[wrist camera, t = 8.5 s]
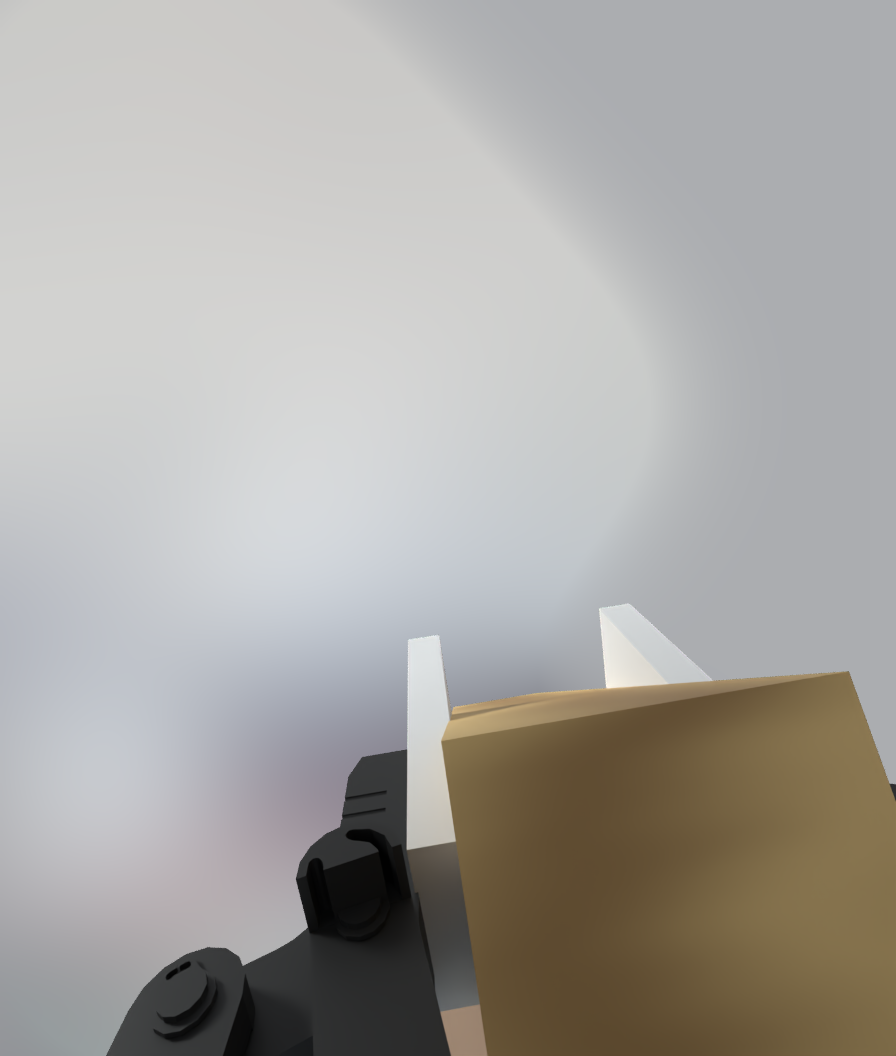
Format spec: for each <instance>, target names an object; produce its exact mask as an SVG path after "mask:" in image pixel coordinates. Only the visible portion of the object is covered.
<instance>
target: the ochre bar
mask: <svg viewBox="0 0 896 1056" xmlns="http://www.w3.org/2000/svg"><path fill="white" fill-rule="evenodd" d="M441 744H442V751H443V758H444V765H445V771H446V778H447V785H448V792H449V799H450V805H451V812H452V819H453V826H454V833H455V839H456V846H457V853H458V860H459V867H460V873H461V880H462V887H463V894H464V900H465V907H466V914H467V921H468V928H469V934H470V941H471V948H472V955H473V962H474V968H475V975H476V982H477V989H478V996H479V1002H480V1009H481V1016H482V1023H483V1030H484V1036H485V1043H486V1050H487V1056H896V801H895V798H894V795H893V792H892V789H891V787H890V784H889V781H888V778H887V776H886V773H885V770H884V767H883V765H882V762H881V759H880V756H879V754H878V751H877V748H876V746H875V743H874V740H873V737H872V734H871V731H870V729H869V726H868V723H867V720H866V718H865V715H864V712H863V709H862V707H861V704H860V701H859V699H858V695H857V693H856V690H855V687H854V685H853V682H852V679H851V676H850V673H849V671H847V672H833V673H819V674H804V675H790V676H775V677H761V678H747V679H732V680H718V681H704V682H689V683H675V684H663V685H648V686H634V687H619V688H603V689H589V690H575V691H562V692H561V691H560V692H546V693H535V694H529V695H523V696H518V697H512V698H505V699H500V700H494V701H488V702H482V703H476V704H470V705H464V706H458V707H454V708H453V711H452V716H451V719H450V721H448V724H447V726H446V729H445V732H444V734H443V737H442V740H441Z"/></svg>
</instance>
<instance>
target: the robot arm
mask: <svg viewBox="0 0 896 1056" xmlns="http://www.w3.org/2000/svg"><path fill="white" fill-rule="evenodd" d="M599 612H600V623H601V633H602V644H603V656H604V667H605V678H606V688H619V687H634V686H648V685H663V684H675V683H689V682H704V681H713V680H712V679H711V678H710V677H709V676H708V675H707V674H706V673H704V672H703V671H702V670H701V669H700V668H699V667H698V666H697V665H696V664H695V663H694V662H692V661H691V660H690V659H689V658H688V657H687V656H686V655H685V654H684V653H683V652H682V651H680V650H679V649H678V648H677V647H676V646H675V645H674V644H673V643H672V642H670V641H669V639H667V638H666V637H665V636H664V635H663V634H662V633H661V632H660V631H659V630H658V629H657V628H655V627H654V626H653V625H652V624H651V623H650V622H649V621H648V620H647V619H646V618H645V617H643V616H642V615H641V614H640V613H639V612H638V611H637V610H636V609H635V608H634V607H633V606H631V605H630V604H623V605H617V606H611V607H605V608H599ZM451 716H452V713H451V706H450V700H449V694H448V688H447V682H446V676H445V669H444V664H443V657H442V651H441V645H440V638H439V635H434V636H428V637H422V638H416V639H410V640H408V736H407V739H408V740H407V742H408V743H407V750H401V751H395V752H390V753H384V754H378V755H372V756H366V757H362V758H361V760H360V761H359V762H358V764H357V765H356V767H355V768H354V770H353V771H352V772H351V774H350V775H349V777H348V783H347V789H346V795H345V802H344V807H343V814H342V818H343V819H342V820H341V826H340V828H337V829H335V830H333V831H331V832H329V833H327V834H325V835H324V836H323V837H322V838H320V839H319V840H318V841H317V842H316V843H314V844H313V845H312V846H311V847H310V848H309V850H308V851H307V853H306V854H305V856H304V857H303V859H302V860H301V861H300V864H299V868H298V873H297V877H296V881H297V885H298V889H299V893H300V897H301V901H302V905H303V909H304V913H305V917H306V921H307V925H308V928H307V929H306V930H305V931H303V932H302V933H301V934H300V935H299V936H298V937H296V938H295V939H294V940H292V941H290V942H289V943H287V944H285V945H284V946H282V947H280V948H279V949H277V950H275V951H273V952H271V953H269V954H267V955H265V956H262V957H261V958H258V959H256V960H254V961H252V962H250V963H248V964H246V965H244V966H242V963H241V960H240V958H239V956H237V955H236V954H234V953H233V952H231V951H229V950H228V949H226V948H210V947H208V948H205V949H201V950H198V951H195V952H192V953H189V954H186V955H184V956H183V957H181V958H179V959H178V960H176V961H175V962H173V963H171V964H170V965H168V966H167V967H165V968H164V969H163V970H162V971H161V972H159V973H158V974H157V975H156V976H155V977H154V978H153V979H152V980H151V981H150V982H149V983H148V984H147V985H146V986H145V987H144V988H143V990H142V991H141V993H140V994H139V996H138V997H137V999H136V1000H135V1002H134V1003H133V1005H132V1006H131V1008H130V1009H129V1011H128V1013H127V1015H126V1017H125V1019H124V1021H123V1023H122V1025H121V1027H120V1029H119V1031H118V1033H117V1035H116V1037H115V1039H114V1041H113V1043H112V1045H111V1047H110V1049H109V1051H108V1053H107V1055H106V1056H451V1053H450V1049H449V1045H448V1041H447V1037H446V1033H445V1029H444V1025H443V1021H442V1017H441V1013H440V1012H442V1011H447V1010H452V1009H458V1008H463V1007H468V1006H474V1005H479V1004H480V1002H479V996H478V989H477V982H476V975H475V968H474V962H473V955H472V948H471V941H470V934H469V928H468V921H467V914H466V907H465V900H464V894H463V887H462V880H461V873H460V867H459V860H458V853H457V846H456V839H455V833H454V826H453V819H452V812H451V805H450V799H449V792H448V785H447V778H446V771H445V765H444V758H443V751H442V744H441V740H442V737H443V734H444V732H445V729H446V726H447V724H448V721H450V719H451ZM890 787H891V789H892V792H893V795H894V798H895V801H896V784H890Z"/></svg>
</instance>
